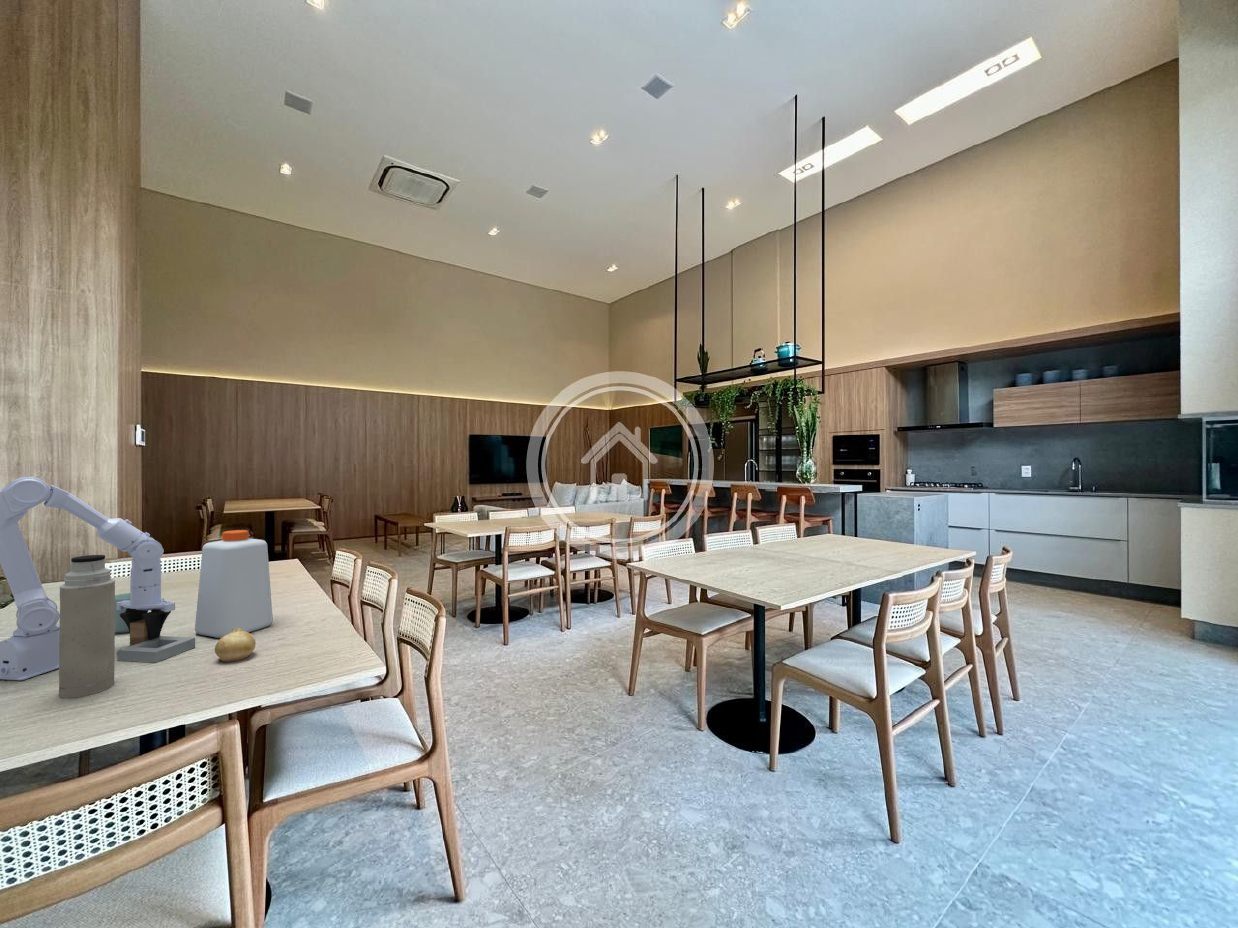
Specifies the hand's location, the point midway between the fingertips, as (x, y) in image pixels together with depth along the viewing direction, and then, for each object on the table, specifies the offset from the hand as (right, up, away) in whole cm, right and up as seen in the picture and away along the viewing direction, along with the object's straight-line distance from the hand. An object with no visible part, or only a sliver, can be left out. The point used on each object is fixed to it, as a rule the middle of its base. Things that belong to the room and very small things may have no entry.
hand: (145, 638), depth 128 cm
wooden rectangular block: (0, -3, 0) cm, 3 cm away
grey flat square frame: (+7, -3, -4) cm, 8 cm away
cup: (-17, -3, +13) cm, 21 cm away
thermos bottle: (+10, -3, -23) cm, 25 cm away
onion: (+27, -3, -6) cm, 28 cm away
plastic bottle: (+11, -3, +15) cm, 19 cm away
